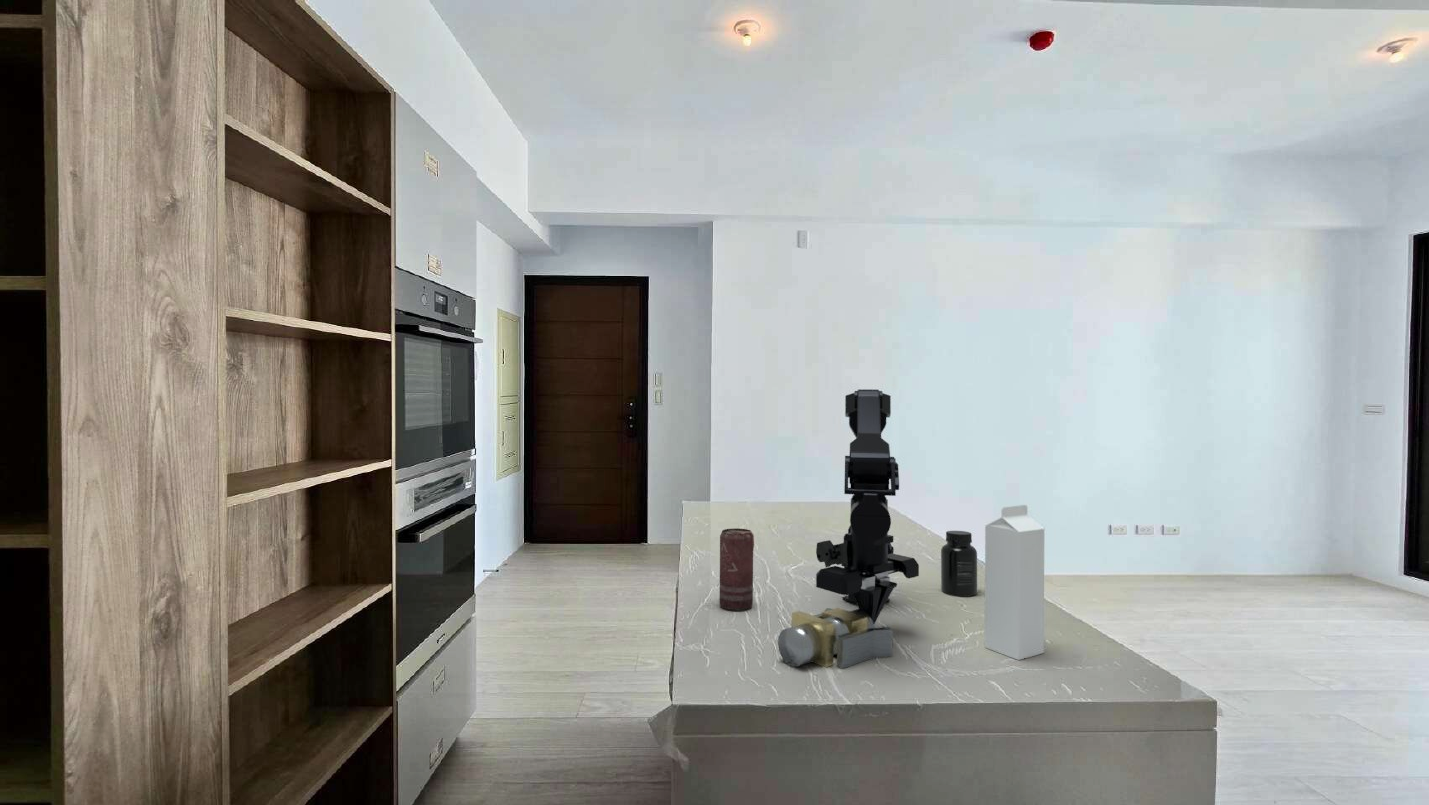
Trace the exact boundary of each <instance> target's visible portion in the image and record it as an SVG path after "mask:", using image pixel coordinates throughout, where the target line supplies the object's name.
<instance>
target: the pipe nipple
mask: <svg viewBox="0 0 1429 805" xmlns="http://www.w3.org/2000/svg"><path fill="white" fill-rule="evenodd" d="M831 609H832V610H828V611H825V610H824V611H825V612H824V611H822V612H821V613H822V619H824V620H827V621H830V622H833V623H834V647H833V656H834V655H835V656H836V655H837V638H840V637H843V636H846V635H849V634H853V633H856V632H859V631H862V630H866V629H870V628H875V624H873V621H872V619H871V617H870V616H869V615H868V614H867V613H866V612H865V611H863V610H860V609H859V608H857V609H853V610H850V611H848V610H846V609H842V608H840V607H835V608H831Z"/></svg>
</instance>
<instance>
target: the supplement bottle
mask: <svg viewBox="0 0 1429 805" xmlns="http://www.w3.org/2000/svg"><path fill="white" fill-rule="evenodd" d="M945 541H946V542H947V543H946V544H944V545H943V546H942V547H941V549H940V583H941V584H940V586H941V591H942V592H943V593H945V594H947V595H949V596H955V597H956V596H957V597H972V596H975V595H976V594H977V593H978V550H977V549H976V548H975V547H974V546H973V545H972V544H971V543H973V541H972V532H969V531H965V530H964V531H963V530H947V531H946V532H945Z"/></svg>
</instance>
